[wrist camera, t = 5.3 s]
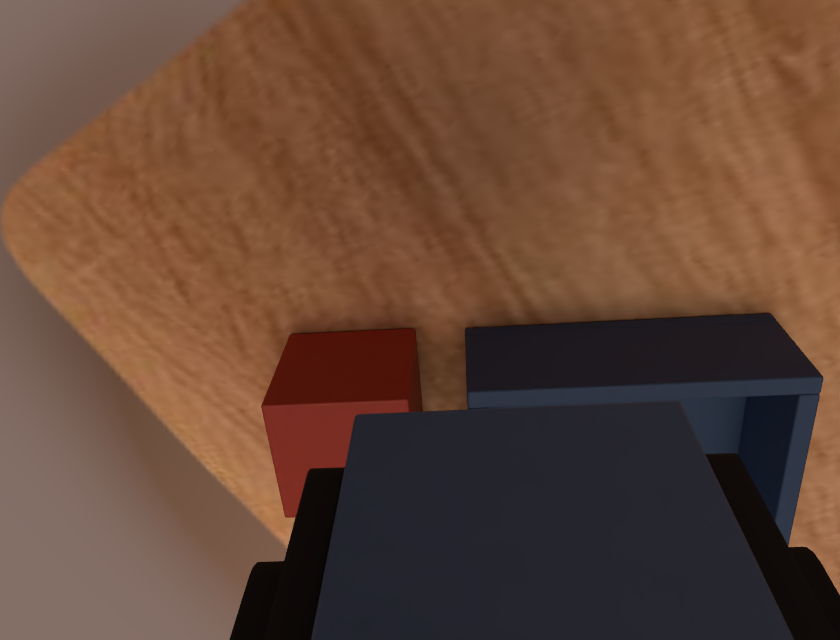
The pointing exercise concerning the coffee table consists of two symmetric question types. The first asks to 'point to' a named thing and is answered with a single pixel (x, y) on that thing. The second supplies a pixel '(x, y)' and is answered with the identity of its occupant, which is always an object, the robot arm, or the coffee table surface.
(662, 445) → the blue block
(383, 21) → the coffee table surface
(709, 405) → the blue bin
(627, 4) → the coffee table surface
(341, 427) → the red block
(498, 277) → the coffee table surface
